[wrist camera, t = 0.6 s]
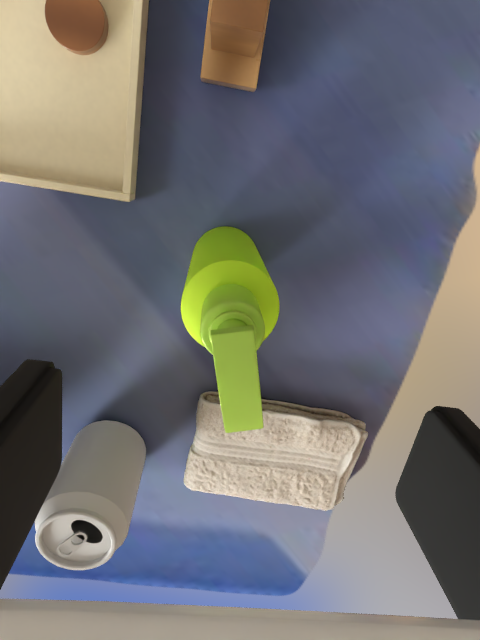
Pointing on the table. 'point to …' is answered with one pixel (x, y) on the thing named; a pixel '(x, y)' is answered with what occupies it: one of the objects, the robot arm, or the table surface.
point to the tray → (71, 102)
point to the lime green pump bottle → (231, 318)
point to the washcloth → (275, 454)
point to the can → (92, 497)
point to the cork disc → (77, 24)
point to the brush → (234, 43)
